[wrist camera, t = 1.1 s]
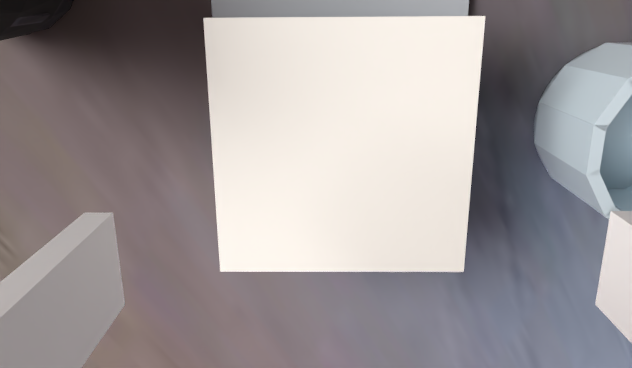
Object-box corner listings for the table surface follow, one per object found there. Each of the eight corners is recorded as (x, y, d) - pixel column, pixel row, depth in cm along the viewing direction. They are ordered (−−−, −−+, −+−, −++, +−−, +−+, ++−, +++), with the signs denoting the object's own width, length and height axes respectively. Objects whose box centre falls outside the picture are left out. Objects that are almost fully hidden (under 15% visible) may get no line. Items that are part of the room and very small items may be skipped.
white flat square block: (210, 17, 24) (203, 18, 23) (475, 15, 24) (485, 15, 23) (225, 258, 28) (220, 271, 27) (456, 258, 28) (463, 271, 26)
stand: (212, -22, 30) (184, -30, 24) (468, -24, 29) (502, -33, 24) (228, 246, 34) (209, 292, 29) (448, 246, 34) (472, 293, 28)
